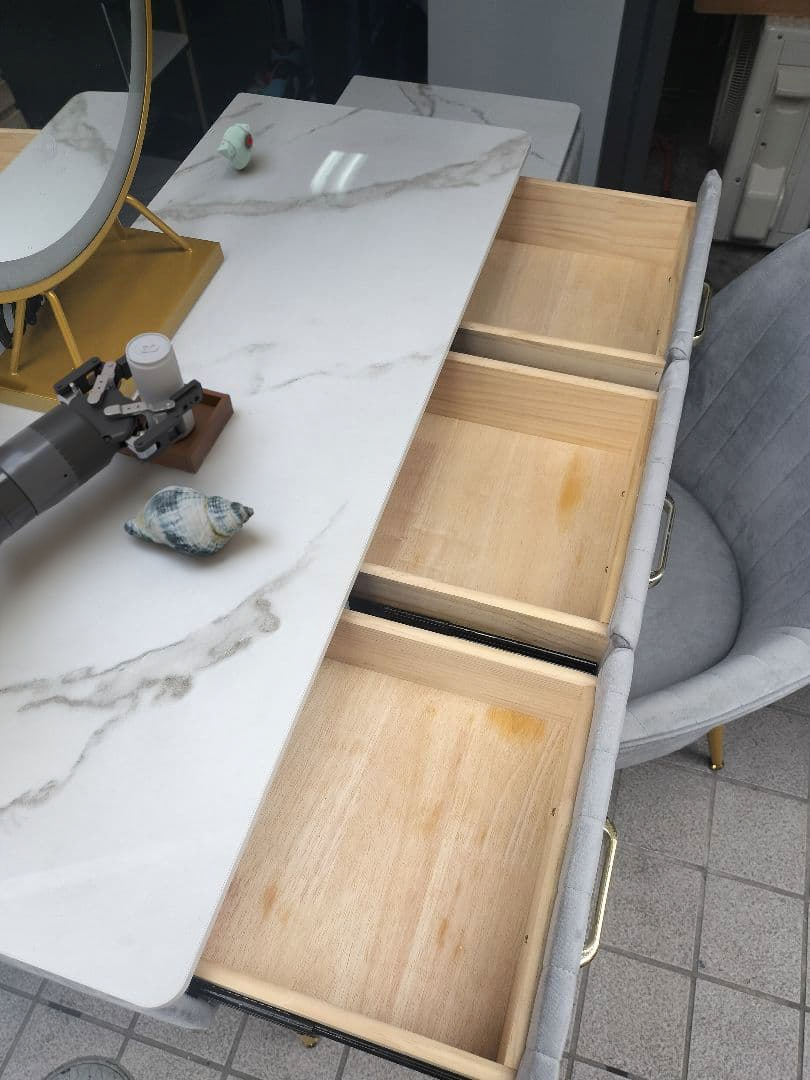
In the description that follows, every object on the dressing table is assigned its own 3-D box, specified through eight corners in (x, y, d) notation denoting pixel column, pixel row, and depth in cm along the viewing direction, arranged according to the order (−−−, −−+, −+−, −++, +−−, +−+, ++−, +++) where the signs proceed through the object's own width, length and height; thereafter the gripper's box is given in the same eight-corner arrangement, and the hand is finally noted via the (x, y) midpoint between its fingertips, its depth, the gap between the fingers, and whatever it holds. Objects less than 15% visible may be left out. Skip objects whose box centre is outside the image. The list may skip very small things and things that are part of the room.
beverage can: (151, 416, 94) (123, 335, 84) (194, 409, 94) (170, 328, 84) (154, 447, 91) (124, 367, 81) (197, 440, 92) (173, 360, 82)
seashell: (168, 507, 89) (256, 553, 86) (117, 534, 83) (209, 585, 80) (171, 456, 86) (263, 503, 82) (118, 481, 80) (214, 532, 76)
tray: (116, 452, 92) (108, 435, 89) (158, 392, 97) (152, 374, 95) (195, 474, 90) (190, 457, 88) (234, 411, 95) (229, 394, 93)
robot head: (242, 152, 126) (235, 108, 121) (266, 158, 126) (260, 114, 120) (218, 180, 122) (209, 136, 117) (242, 185, 121) (235, 141, 116)
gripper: (84, 471, 75) (213, 372, 82) (-10, 400, 80) (119, 313, 87) (108, 519, 81) (226, 423, 88) (19, 450, 86) (138, 365, 93)
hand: (173, 369), depth 88 cm, fingers open, 7 cm apart
